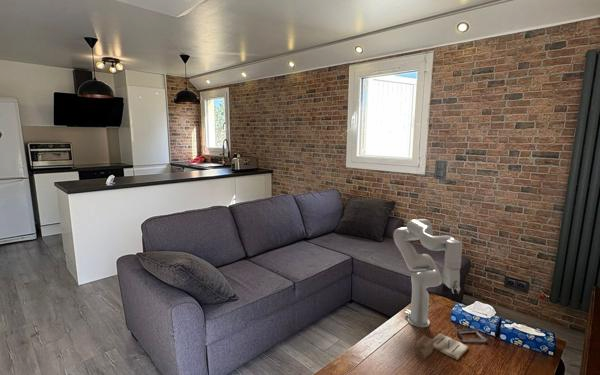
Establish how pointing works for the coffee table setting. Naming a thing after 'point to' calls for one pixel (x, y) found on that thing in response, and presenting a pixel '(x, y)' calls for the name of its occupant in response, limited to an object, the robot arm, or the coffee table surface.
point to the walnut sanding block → (424, 346)
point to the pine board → (449, 346)
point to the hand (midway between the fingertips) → (450, 296)
